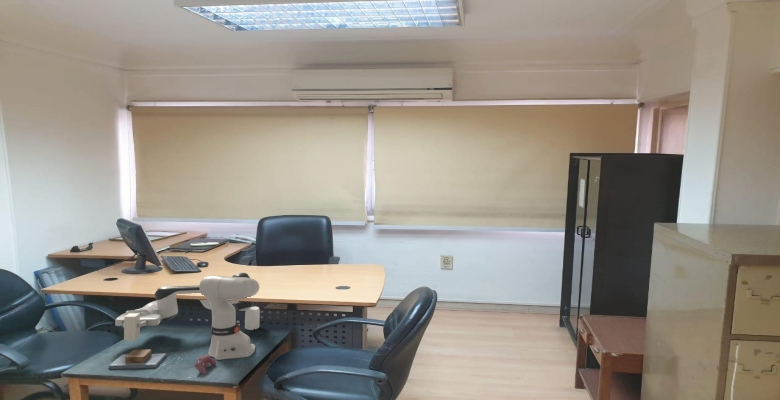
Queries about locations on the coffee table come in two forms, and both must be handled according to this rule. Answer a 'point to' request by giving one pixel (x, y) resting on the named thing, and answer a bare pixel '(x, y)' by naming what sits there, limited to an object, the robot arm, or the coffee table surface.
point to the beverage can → (252, 318)
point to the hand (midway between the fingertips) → (131, 326)
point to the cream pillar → (131, 327)
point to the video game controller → (205, 361)
